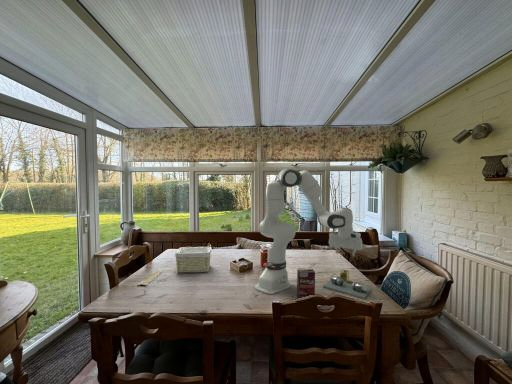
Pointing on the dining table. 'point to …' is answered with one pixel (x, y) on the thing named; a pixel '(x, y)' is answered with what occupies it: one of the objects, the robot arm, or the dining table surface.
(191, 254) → the storage basket
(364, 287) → the shaft
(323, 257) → the dining table surface
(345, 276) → the coupler
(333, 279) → the shaft
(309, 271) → the supplement box
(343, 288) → the bench plate
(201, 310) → the dining table surface
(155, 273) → the newspaper
